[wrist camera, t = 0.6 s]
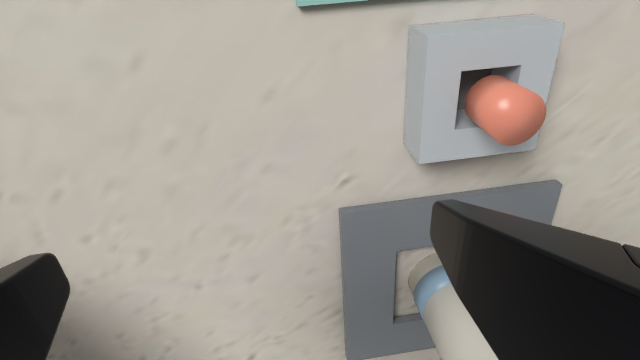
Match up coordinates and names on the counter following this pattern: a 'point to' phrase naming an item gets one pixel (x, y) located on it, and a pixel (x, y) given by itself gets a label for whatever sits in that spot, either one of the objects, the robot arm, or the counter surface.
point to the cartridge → (446, 314)
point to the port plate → (402, 234)
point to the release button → (505, 109)
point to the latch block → (463, 55)
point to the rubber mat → (321, 2)
